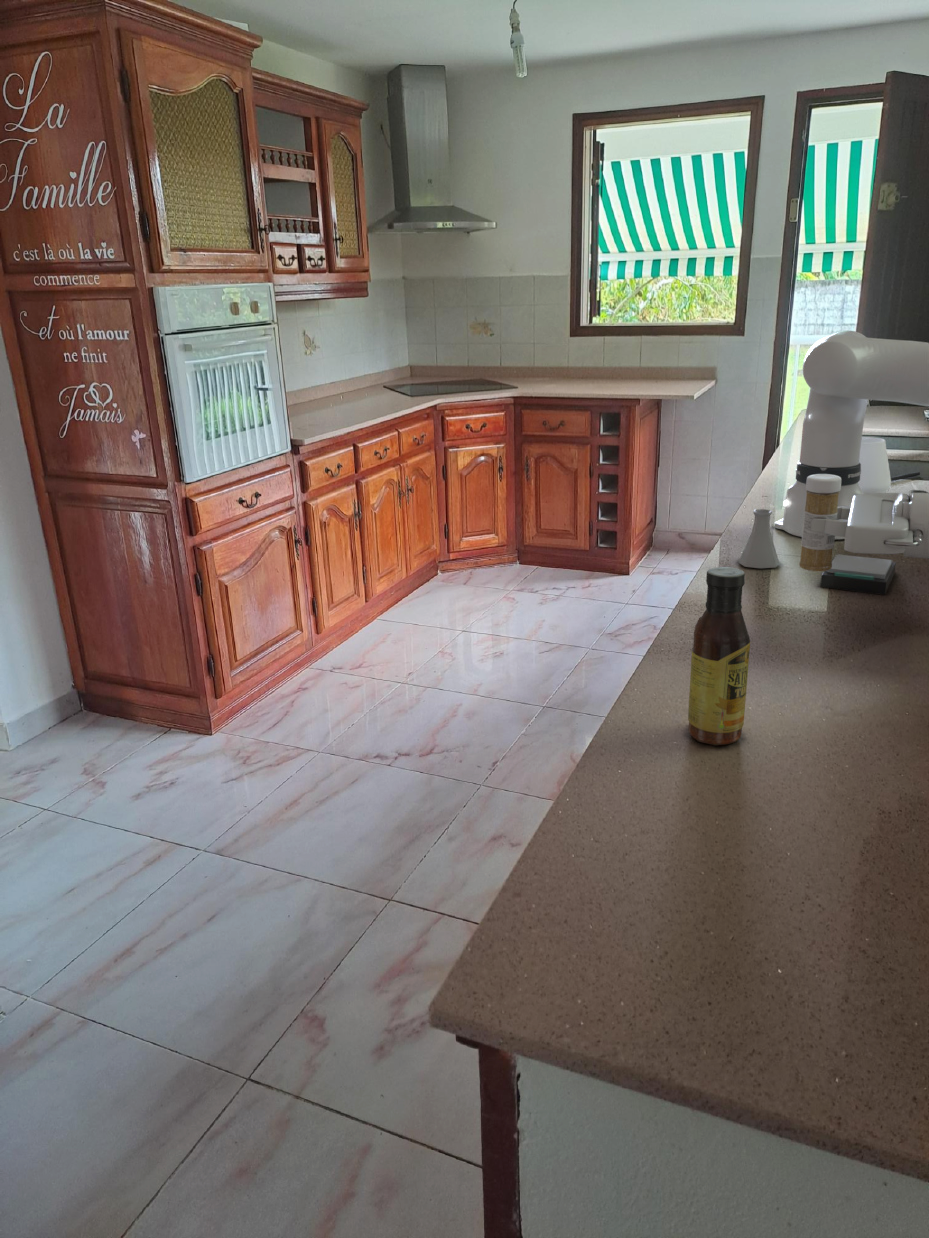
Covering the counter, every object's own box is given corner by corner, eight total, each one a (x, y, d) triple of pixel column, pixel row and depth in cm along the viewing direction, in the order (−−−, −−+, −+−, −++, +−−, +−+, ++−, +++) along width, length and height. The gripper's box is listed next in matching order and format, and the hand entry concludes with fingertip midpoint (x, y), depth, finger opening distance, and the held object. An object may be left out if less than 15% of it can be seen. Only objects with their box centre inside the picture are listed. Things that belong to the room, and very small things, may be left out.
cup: (893, 496, 206) (901, 436, 201) (884, 508, 196) (892, 446, 191) (832, 491, 213) (838, 433, 208) (820, 503, 202) (826, 442, 198)
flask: (781, 570, 158) (786, 516, 155) (739, 569, 160) (743, 515, 156) (776, 558, 165) (781, 506, 161) (736, 557, 166) (740, 506, 163)
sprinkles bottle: (814, 561, 131) (823, 471, 126) (839, 569, 127) (849, 476, 122) (791, 566, 129) (799, 475, 124) (815, 574, 125) (824, 481, 120)
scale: (833, 567, 158) (835, 551, 157) (894, 574, 153) (896, 557, 152) (820, 587, 149) (822, 570, 148) (884, 594, 144) (887, 577, 143)
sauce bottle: (733, 753, 98) (745, 584, 91) (679, 740, 102) (687, 577, 95) (749, 728, 103) (762, 567, 97) (697, 717, 107) (706, 560, 100)
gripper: (919, 569, 113) (804, 560, 118) (917, 529, 130) (816, 523, 135) (926, 521, 110) (808, 515, 116) (923, 487, 128) (821, 482, 133)
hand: (813, 519), depth 126 cm, fingers closed on sprinkles bottle, 4 cm apart
